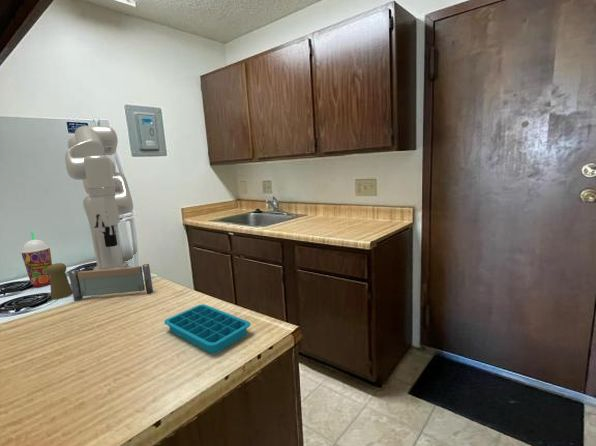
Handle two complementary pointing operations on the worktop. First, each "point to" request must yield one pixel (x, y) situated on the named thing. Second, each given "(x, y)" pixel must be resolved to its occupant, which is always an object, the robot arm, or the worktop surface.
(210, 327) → the ice cube tray
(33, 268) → the smoothie
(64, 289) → the cork
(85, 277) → the gate
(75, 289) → the gate posts
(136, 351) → the worktop surface
